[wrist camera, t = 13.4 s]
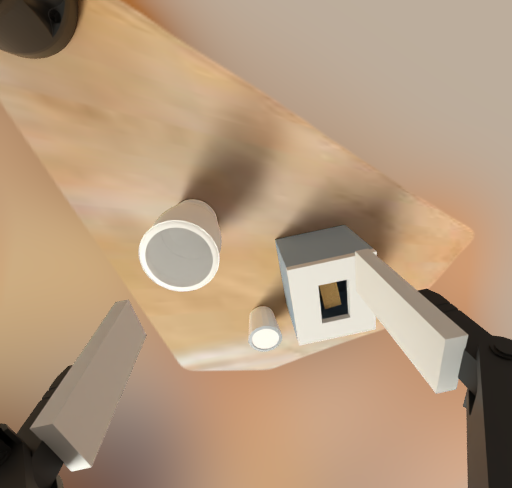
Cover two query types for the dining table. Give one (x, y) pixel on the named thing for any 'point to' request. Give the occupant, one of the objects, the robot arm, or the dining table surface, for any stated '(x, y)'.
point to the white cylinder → (263, 329)
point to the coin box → (319, 273)
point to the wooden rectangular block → (329, 295)
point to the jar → (182, 247)
